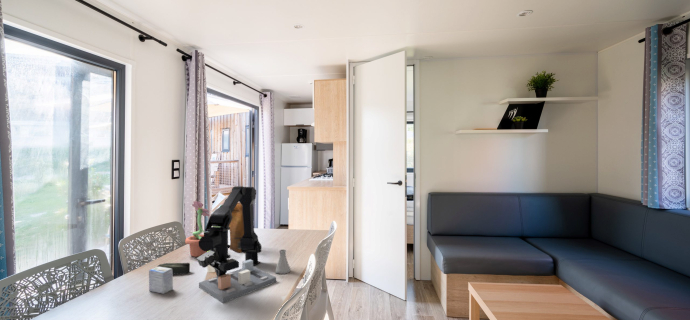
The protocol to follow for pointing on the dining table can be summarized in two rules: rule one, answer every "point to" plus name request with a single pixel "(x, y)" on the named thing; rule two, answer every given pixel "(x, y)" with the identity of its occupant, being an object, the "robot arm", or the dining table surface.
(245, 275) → the ivory cuboid
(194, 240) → the decorative flower
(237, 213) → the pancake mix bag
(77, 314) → the dining table surface
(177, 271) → the dark green block
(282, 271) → the flask
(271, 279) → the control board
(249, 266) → the grey small block
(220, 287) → the salmon pink cuboid
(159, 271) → the medicine box
